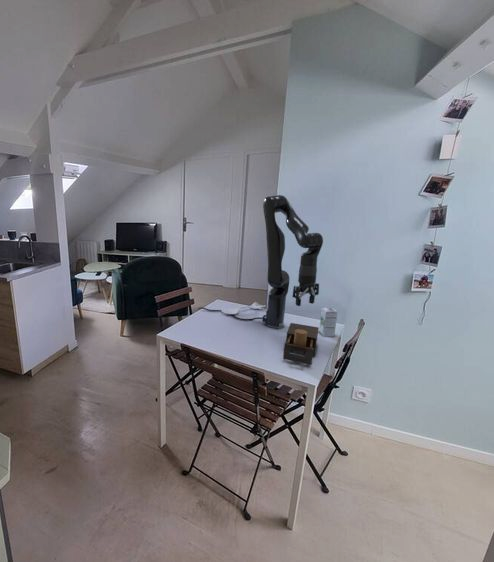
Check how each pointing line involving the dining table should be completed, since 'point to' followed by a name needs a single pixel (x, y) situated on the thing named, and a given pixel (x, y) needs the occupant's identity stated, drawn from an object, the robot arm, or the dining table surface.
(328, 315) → the syrup box
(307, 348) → the drawer
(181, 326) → the dining table surface
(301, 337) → the tan wooden cylinder
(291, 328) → the cabinet
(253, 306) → the spoon
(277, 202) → the robot arm
